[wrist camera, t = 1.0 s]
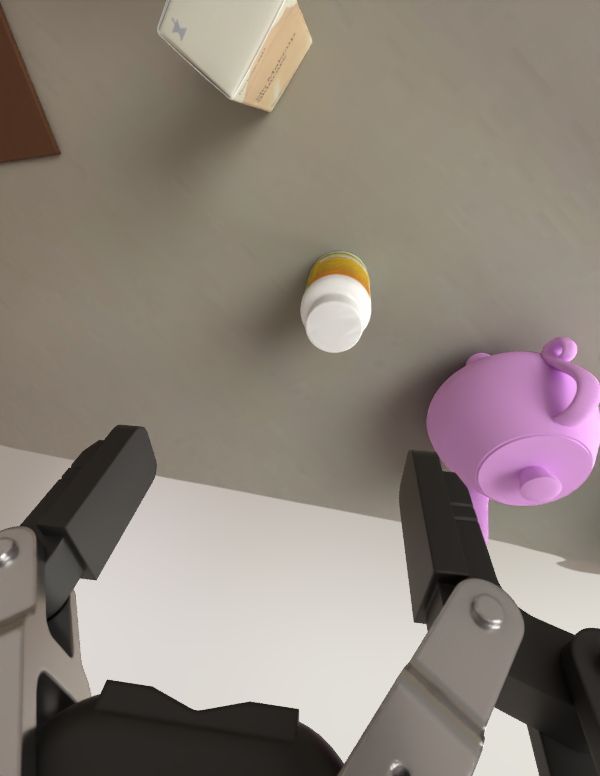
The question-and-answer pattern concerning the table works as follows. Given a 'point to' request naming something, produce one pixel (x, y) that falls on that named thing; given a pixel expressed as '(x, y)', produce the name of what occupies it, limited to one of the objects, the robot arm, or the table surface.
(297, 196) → the table surface
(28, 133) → the mat
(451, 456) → the teapot
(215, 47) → the box
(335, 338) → the supplement bottle
